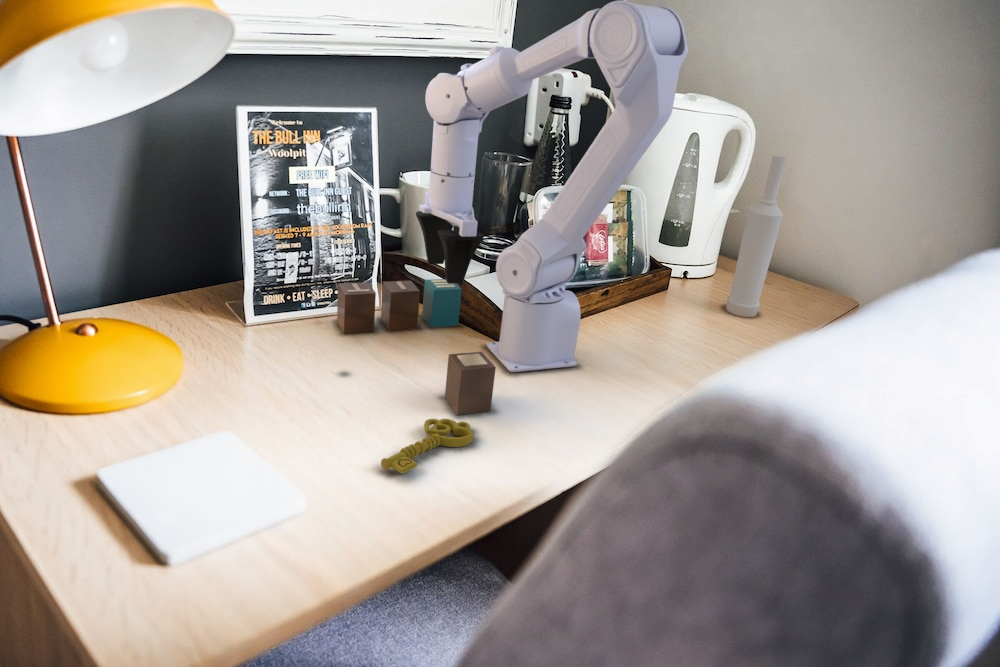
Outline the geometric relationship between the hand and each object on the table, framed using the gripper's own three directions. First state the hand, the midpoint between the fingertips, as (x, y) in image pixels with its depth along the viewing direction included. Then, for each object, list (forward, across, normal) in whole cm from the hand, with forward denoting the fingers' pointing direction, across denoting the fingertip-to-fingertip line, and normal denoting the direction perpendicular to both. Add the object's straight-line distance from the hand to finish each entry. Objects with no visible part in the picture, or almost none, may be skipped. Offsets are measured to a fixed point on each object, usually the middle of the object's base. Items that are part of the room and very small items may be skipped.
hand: (444, 272), depth 104 cm
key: (+8, +30, -12) cm, 33 cm away
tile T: (+7, 0, -12) cm, 14 cm away
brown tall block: (+7, +23, -5) cm, 24 cm away
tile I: (+7, 0, -6) cm, 9 cm away
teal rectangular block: (+7, 0, 0) cm, 7 cm away
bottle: (+8, +4, +50) cm, 51 cm away
